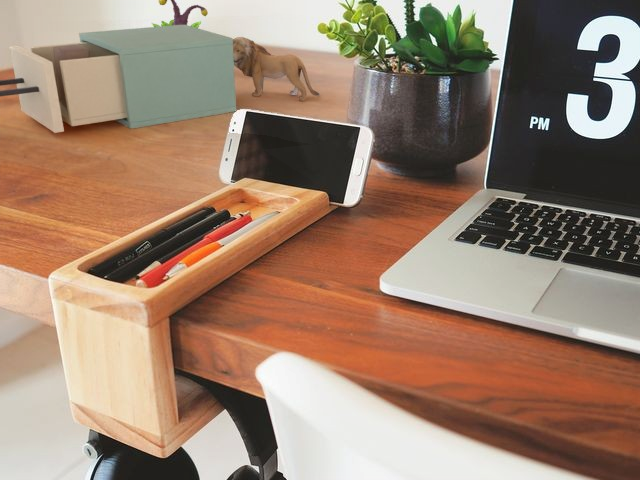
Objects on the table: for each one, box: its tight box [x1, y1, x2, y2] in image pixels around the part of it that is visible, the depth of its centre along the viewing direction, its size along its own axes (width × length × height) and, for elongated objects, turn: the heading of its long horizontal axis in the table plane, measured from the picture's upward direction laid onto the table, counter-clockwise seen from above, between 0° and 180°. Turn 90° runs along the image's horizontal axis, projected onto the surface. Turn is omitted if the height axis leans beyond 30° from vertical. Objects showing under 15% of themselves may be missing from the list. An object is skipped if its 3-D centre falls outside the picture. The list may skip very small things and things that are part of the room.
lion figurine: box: [233, 36, 320, 102], centre depth 115 cm, size 15×5×9 cm, turn 82°
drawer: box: [0, 42, 127, 134], centre depth 98 cm, size 22×13×9 cm, turn 130°
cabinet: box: [78, 24, 237, 130], centre depth 106 cm, size 17×15×11 cm
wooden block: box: [53, 45, 90, 109], centre depth 98 cm, size 4×4×8 cm
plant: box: [151, 0, 208, 29], centre depth 144 cm, size 20×20×11 cm
